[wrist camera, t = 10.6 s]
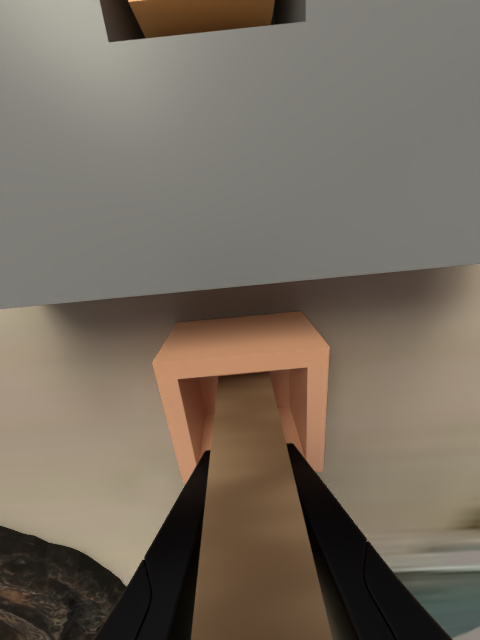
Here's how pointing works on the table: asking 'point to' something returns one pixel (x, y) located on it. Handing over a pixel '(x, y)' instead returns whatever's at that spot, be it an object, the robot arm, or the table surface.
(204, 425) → the holder
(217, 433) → the brown wooden bar
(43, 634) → the stone relief
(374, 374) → the table surface
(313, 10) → the box
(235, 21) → the button
